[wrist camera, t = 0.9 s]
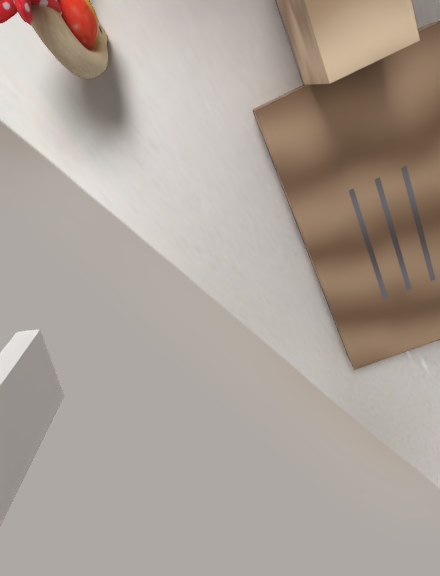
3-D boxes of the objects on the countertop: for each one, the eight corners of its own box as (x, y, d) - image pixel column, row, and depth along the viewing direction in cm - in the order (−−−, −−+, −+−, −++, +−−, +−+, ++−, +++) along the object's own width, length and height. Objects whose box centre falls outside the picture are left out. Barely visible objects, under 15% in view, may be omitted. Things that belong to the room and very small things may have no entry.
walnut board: (252, 109, 31) (254, 110, 29) (428, 24, 29) (442, 20, 27) (348, 356, 40) (354, 369, 39) (486, 307, 38) (500, 318, 36)
